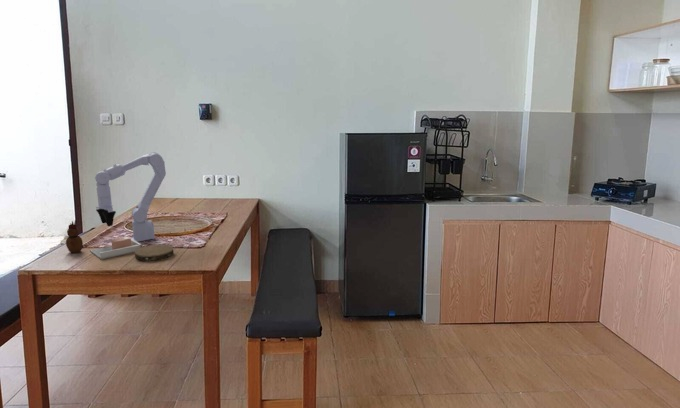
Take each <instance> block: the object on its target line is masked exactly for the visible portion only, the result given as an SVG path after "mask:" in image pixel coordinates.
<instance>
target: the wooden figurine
mask: <svg viewBox="0 0 680 408" xmlns="http://www.w3.org/2000/svg"><path fill="white" fill-rule="evenodd" d="M77 226H78V225H77V220H76V219H75V220H74V221H73V220H72V221H71V223H69V224H68V228H67V231H66V233H67V236H68V237H67V238H66V240H65V247H66V248H67V250H68V251H69V253H72V254H77V253H80V252H81V251H82V250H83V246H84V244H83V242H84V241H83V239H82V237H81V236H80V235H79V234H80V230H79V228H78V227H77Z"/></svg>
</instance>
